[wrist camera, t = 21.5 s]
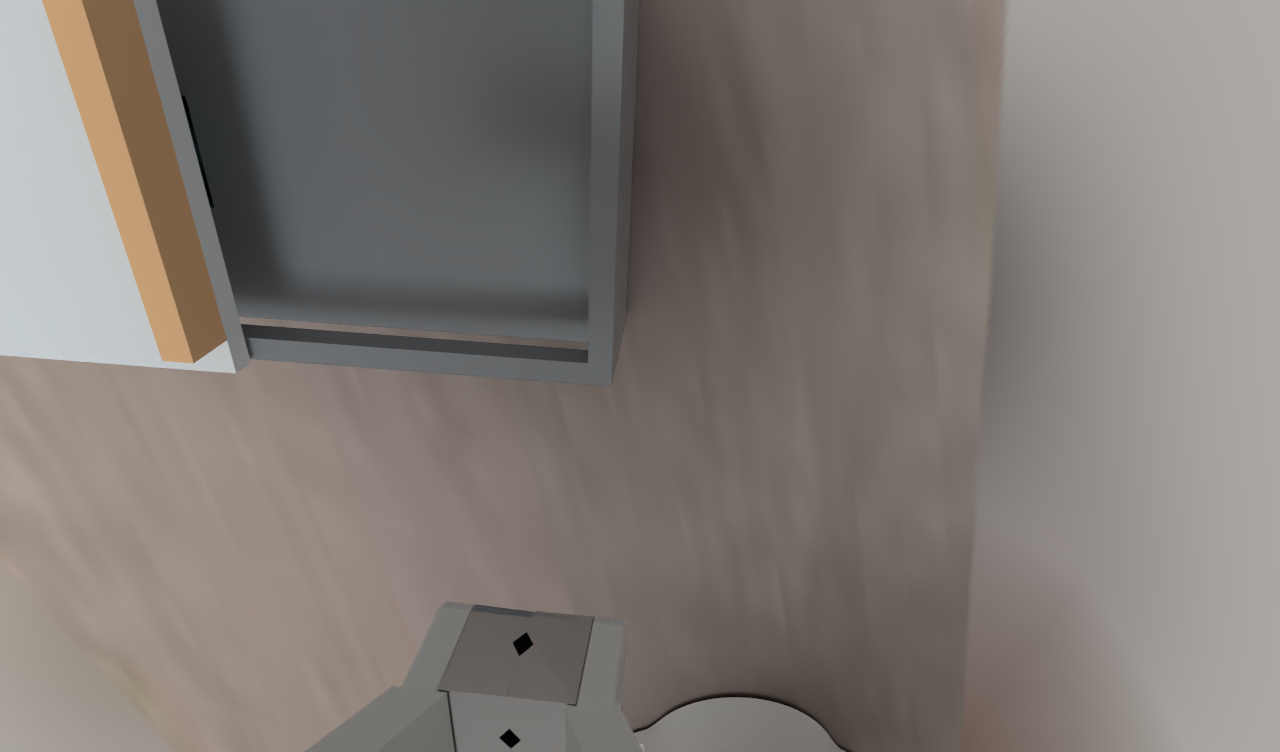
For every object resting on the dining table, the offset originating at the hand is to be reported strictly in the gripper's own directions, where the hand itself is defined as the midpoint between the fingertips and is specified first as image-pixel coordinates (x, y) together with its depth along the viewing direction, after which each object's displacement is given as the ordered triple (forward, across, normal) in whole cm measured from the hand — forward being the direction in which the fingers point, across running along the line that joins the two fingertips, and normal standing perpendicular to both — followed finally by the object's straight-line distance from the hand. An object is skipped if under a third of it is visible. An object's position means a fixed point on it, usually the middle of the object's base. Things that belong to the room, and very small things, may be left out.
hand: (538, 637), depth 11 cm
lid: (+16, +23, -4) cm, 28 cm away
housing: (+23, +16, -4) cm, 28 cm away
